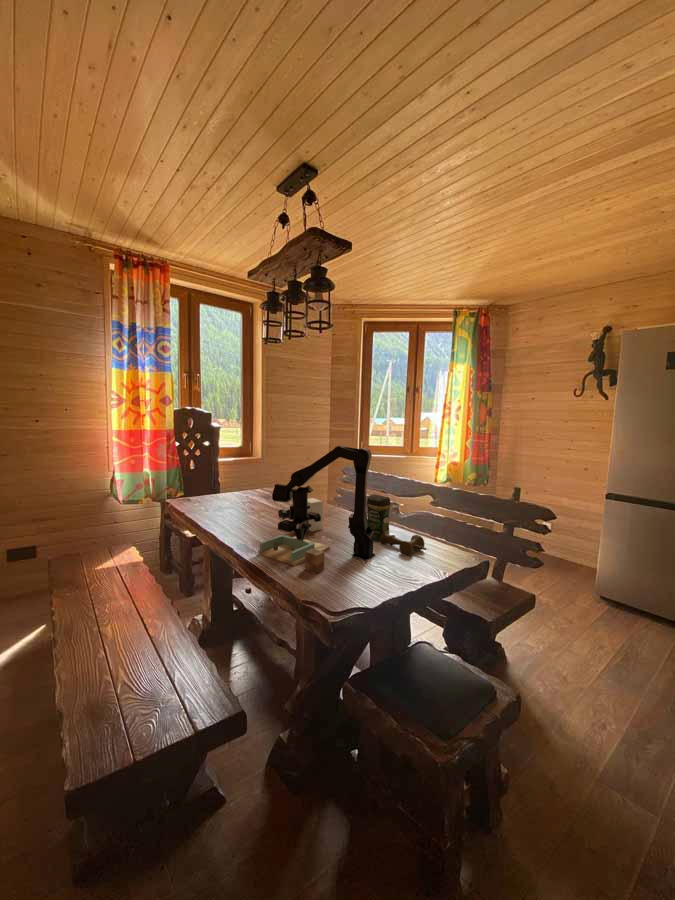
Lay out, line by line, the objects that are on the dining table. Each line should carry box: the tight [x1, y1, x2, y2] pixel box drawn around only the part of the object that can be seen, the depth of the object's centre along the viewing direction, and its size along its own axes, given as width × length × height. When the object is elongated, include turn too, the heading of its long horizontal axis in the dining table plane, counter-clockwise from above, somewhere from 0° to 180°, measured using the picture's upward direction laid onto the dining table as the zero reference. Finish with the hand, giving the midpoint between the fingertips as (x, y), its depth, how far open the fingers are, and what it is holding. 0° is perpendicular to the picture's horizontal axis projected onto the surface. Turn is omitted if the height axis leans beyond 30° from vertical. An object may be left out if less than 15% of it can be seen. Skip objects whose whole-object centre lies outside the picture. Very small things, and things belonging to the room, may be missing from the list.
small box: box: [308, 497, 324, 533], centre depth 168 cm, size 8×6×13 cm
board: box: [258, 536, 331, 567], centre depth 140 cm, size 18×20×4 cm
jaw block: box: [304, 549, 325, 574], centre depth 124 cm, size 5×4×6 cm
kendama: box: [379, 532, 427, 557], centre depth 144 cm, size 6×10×20 cm
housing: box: [259, 534, 315, 561], centre depth 137 cm, size 16×12×3 cm
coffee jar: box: [366, 494, 391, 543], centre depth 155 cm, size 10×8×19 cm
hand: (300, 543), depth 142 cm, fingers closed
